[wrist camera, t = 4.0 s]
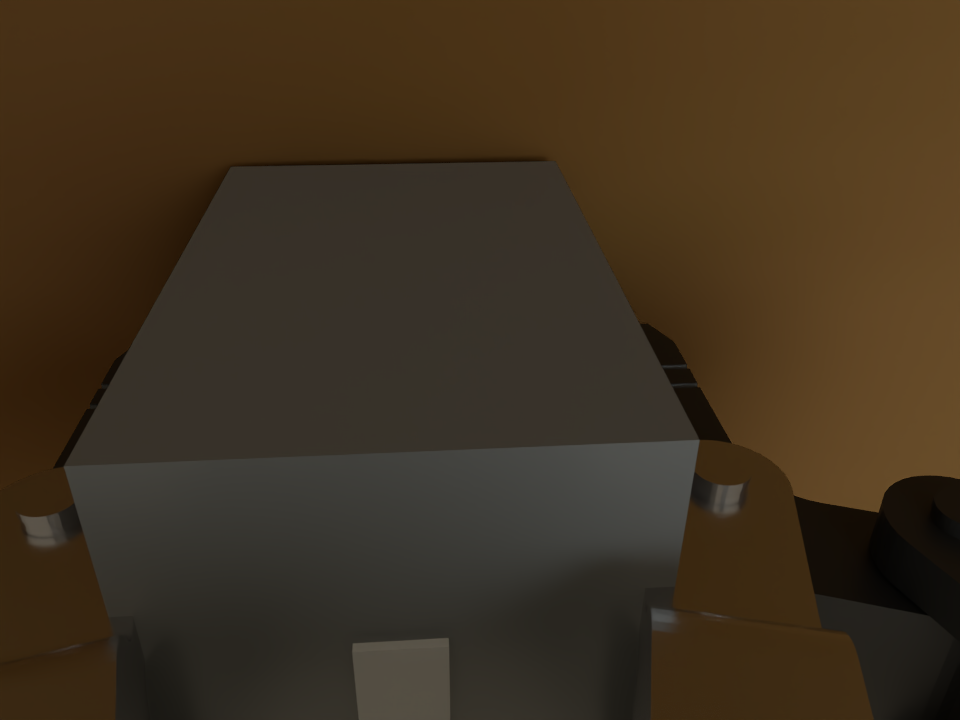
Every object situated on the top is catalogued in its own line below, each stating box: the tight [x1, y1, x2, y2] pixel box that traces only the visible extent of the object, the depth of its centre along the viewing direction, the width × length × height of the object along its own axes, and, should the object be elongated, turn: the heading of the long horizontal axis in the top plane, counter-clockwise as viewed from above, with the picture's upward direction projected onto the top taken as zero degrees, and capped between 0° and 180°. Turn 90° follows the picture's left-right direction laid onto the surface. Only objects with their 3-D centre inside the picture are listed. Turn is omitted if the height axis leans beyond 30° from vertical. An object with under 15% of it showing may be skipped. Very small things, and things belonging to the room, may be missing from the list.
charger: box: [64, 161, 700, 720], centre depth 9 cm, size 5×4×6 cm
